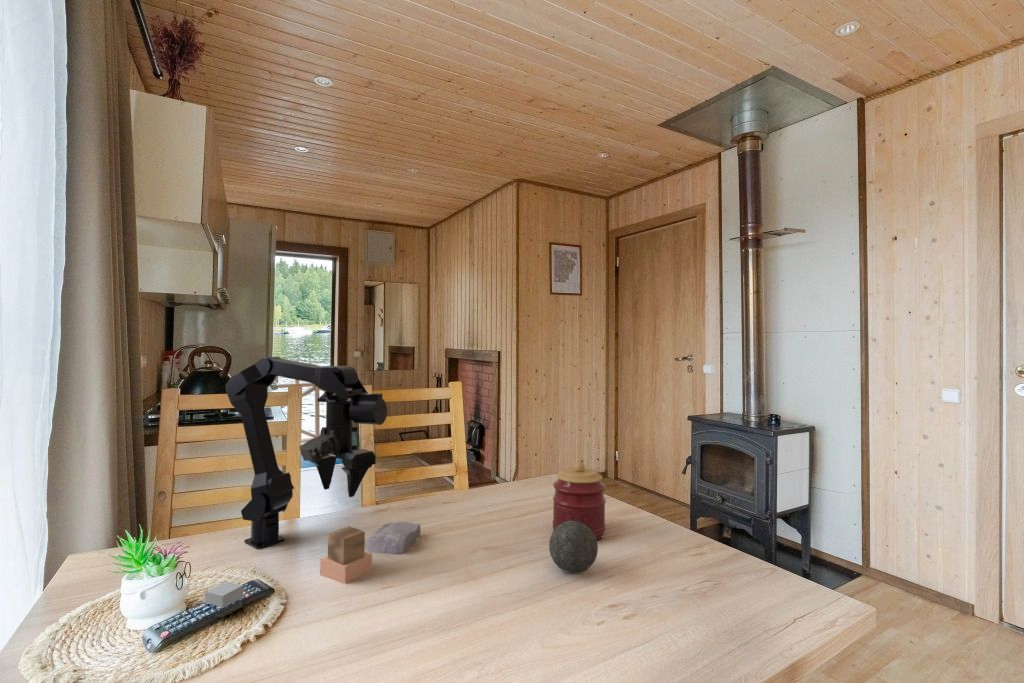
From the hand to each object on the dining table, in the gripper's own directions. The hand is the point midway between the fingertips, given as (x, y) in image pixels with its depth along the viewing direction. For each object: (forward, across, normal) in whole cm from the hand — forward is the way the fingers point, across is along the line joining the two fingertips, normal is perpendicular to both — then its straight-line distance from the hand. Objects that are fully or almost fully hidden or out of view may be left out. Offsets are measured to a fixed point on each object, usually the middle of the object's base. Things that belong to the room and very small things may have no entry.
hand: (338, 492), depth 111 cm
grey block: (+13, +6, -26) cm, 30 cm away
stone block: (+14, +6, +11) cm, 18 cm away
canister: (+13, +37, +43) cm, 58 cm away
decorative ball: (+13, +46, +24) cm, 54 cm away
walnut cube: (+10, +10, -5) cm, 15 cm away
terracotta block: (+13, +10, -5) cm, 17 cm away
